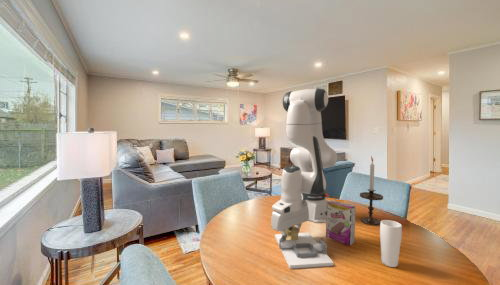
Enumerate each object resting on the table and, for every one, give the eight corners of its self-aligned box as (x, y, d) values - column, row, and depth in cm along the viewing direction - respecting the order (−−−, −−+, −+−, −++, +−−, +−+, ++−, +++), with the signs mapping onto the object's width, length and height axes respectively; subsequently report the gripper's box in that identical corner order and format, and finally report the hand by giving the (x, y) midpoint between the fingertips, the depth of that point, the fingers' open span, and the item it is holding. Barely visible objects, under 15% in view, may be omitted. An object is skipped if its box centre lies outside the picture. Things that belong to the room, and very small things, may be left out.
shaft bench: (308, 235, 106) (308, 224, 106) (333, 265, 83) (333, 252, 82) (272, 237, 105) (272, 226, 104) (287, 268, 81) (287, 255, 80)
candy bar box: (325, 237, 104) (326, 201, 103) (330, 234, 108) (331, 199, 107) (350, 246, 96) (351, 208, 95) (355, 242, 100) (356, 205, 99)
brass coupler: (290, 235, 103) (290, 223, 103) (298, 239, 100) (298, 226, 100) (283, 238, 101) (283, 225, 100) (291, 242, 97) (291, 229, 97)
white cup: (374, 258, 87) (376, 220, 86) (391, 257, 88) (393, 219, 87) (386, 269, 80) (388, 227, 80) (405, 268, 81) (406, 227, 80)
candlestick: (354, 219, 125) (356, 155, 123) (370, 217, 129) (372, 154, 127) (370, 227, 115) (372, 157, 113) (387, 224, 118) (389, 156, 116)
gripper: (301, 197, 108) (301, 226, 109) (268, 206, 96) (268, 239, 97) (312, 201, 103) (312, 231, 104) (279, 211, 91) (279, 245, 92)
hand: (290, 235), depth 100 cm, fingers open, 6 cm apart
